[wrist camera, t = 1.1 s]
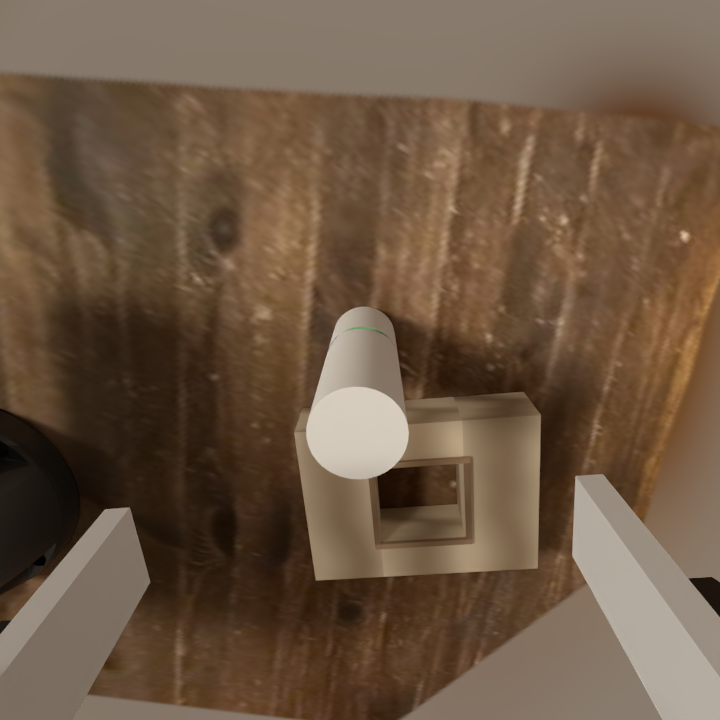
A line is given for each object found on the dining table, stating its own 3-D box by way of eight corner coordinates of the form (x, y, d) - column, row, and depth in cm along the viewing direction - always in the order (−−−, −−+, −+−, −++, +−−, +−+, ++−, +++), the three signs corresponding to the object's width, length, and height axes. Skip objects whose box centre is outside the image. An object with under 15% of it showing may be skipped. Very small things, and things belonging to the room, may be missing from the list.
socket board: (321, 544, 41) (315, 582, 37) (302, 408, 37) (293, 434, 33) (522, 532, 40) (538, 570, 36) (523, 391, 36) (542, 416, 32)
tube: (407, 343, 36) (428, 445, 21) (357, 377, 36) (346, 496, 22) (371, 294, 34) (368, 366, 20) (321, 330, 35) (285, 423, 21)
